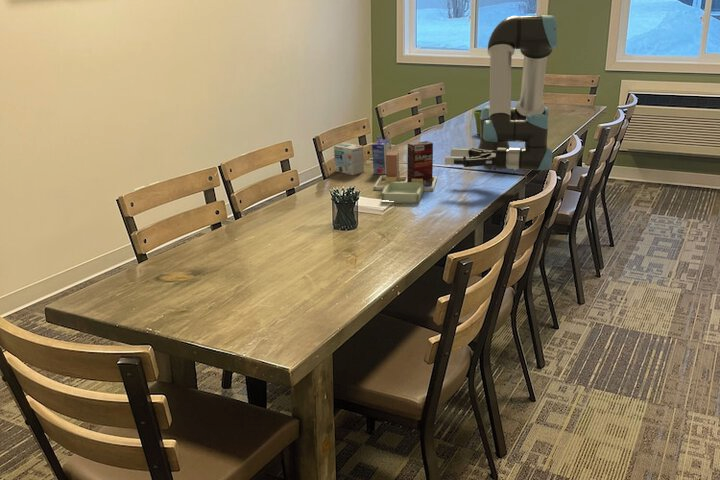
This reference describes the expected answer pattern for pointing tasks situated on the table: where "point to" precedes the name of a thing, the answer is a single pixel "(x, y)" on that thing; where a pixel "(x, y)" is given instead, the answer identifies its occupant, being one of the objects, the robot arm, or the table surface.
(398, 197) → the tray
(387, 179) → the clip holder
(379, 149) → the ink cartridge box
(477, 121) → the plant pot
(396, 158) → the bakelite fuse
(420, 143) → the supplement box
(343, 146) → the light bulb box
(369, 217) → the table surface
